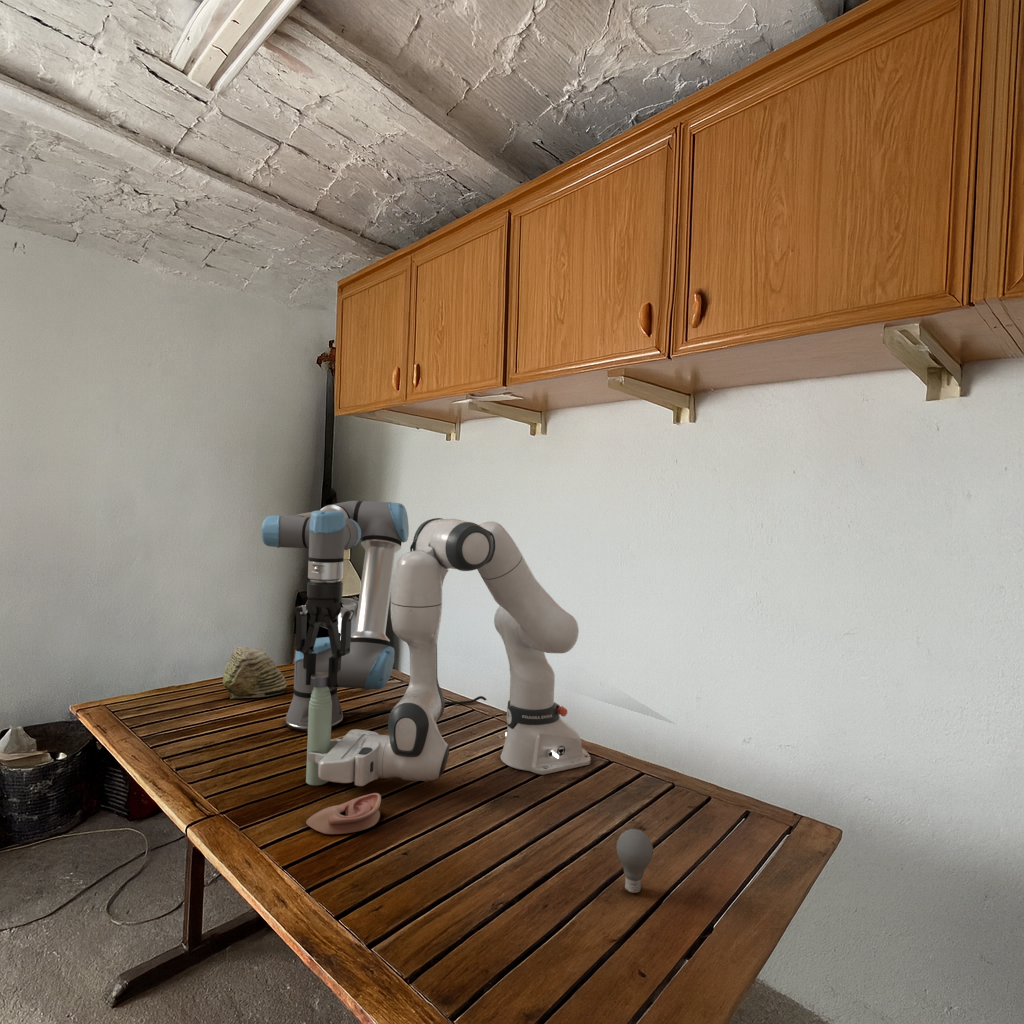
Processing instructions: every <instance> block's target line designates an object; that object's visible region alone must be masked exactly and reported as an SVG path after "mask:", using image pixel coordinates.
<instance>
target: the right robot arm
mask: <svg viewBox="0 0 1024 1024" xmlns="http://www.w3.org/2000/svg"><path fill="white" fill-rule="evenodd" d="M449 569H452V570H457V571H461V572H472V571H476V570H477V573H478V574H479V576H480V578H481V579H482V581H483V582H484V585H485V586H486V588H487V589H488V591H489V593H490V595H491V596H492V599H493V600H494V602H496V604H498V605H499V606H498V607H497V609H496V610H495V614H494V618H493V624H494V629H495V630H496V632H497V633H498V635H499V636H500V638H501V640H502V642H503V645H504V648H505V652H506V657H507V660H508V665H509V700H508V701H507V709H506V724H507V728H506V731H505V735H504V736H505V739H504V744H503V747H502V751H501V753H500V761H501V762H502V763H503V764H505V765H507V766H508V767H511V768H514V769H517V770H521V771H527V772H531V773H534V774H536V775H542V776H543V775H547V774H548V775H549V774H552V773H553V774H554V773H557V772H563V771H567V770H570V769H575V768H580V767H584V766H590V765H591V763H592V762H591V760H592V759H591V755H590V754H589V753H588V751H587V750H586V749H585V748H584V747H583V745H582V739H581V737H580V734H579V732H578V731H577V730H576V729H574V727H573V726H571V725H570V724H569V723H568V722H567V721H565V720H564V719H562V717H566V716H567V715H568V709H567V708H566V707H564V706H562V705H560V704H558V703H556V702H555V685H556V674H555V671H554V668H553V667H552V666H551V664H550V663H549V660H548V659H547V656H546V654H567V653H568V652H570V651H571V650H573V648H574V646H575V645H576V644H577V641H578V639H579V634H580V630H579V629H580V627H579V623H578V621H577V619H576V618H575V617H574V616H573V615H572V614H571V613H570V612H567V611H566V609H564V608H562V606H561V605H560V604H559V603H558V602H556V600H555V599H554V598H553V597H552V596H551V594H549V592H547V590H546V589H545V588H544V587H543V585H541V583H540V582H539V581H538V579H537V578H536V577H535V575H534V573H533V572H532V569H531V568H530V567H529V564H528V562H527V561H526V559H525V557H524V556H523V554H522V551H521V550H520V547H519V546H518V544H517V543H516V541H515V540H514V539H513V537H512V536H511V534H510V533H509V532H508V530H506V528H505V527H503V525H502V524H500V523H499V522H497V521H485V522H482V523H480V524H477V523H475V522H471V521H466V520H462V519H457V518H442V517H435V518H430V519H427V520H426V521H425V520H424V522H422V523H421V524H420V525H419V526H418V527H417V529H416V531H415V533H414V536H413V539H412V543H411V545H410V547H409V551H408V552H405V553H404V554H402V555H401V556H400V557H399V558H398V559H397V561H396V563H395V569H394V571H393V572H394V573H393V576H392V583H391V592H390V621H391V627H392V631H393V633H394V635H396V637H397V638H399V639H400V640H401V641H403V642H405V643H406V644H407V647H408V650H409V682H408V686H407V689H406V690H405V692H404V694H403V696H402V697H401V698H400V700H399V701H398V702H397V703H396V704H395V705H394V706H393V707H392V708H393V710H392V711H390V713H389V716H388V719H387V731H388V734H379V733H378V732H376V731H372V730H367V729H357V728H356V729H354V728H353V729H350V730H349V731H348V732H347V733H346V734H345V735H344V736H343V737H342V738H335V739H331V747H330V751H329V752H328V753H327V754H325V753H324V754H320V753H318V751H311V752H310V753H309V754H308V761H309V762H316V763H317V764H319V765H318V777H319V778H320V779H322V780H325V781H328V782H332V783H339V784H350V783H351V784H352V783H353V782H354V786H357V787H364V786H366V785H367V784H369V783H370V782H373V781H375V780H379V779H390V778H397V779H400V780H403V781H410V782H411V781H413V782H431V781H436V780H438V779H439V778H441V777H442V775H443V774H444V772H445V769H446V765H447V764H448V760H449V756H450V746H449V744H448V743H447V742H446V741H445V739H444V738H443V735H442V734H441V732H440V729H439V727H438V724H437V723H438V721H439V720H440V719H441V718H442V716H443V715H444V712H445V708H446V705H445V702H446V701H445V697H444V694H443V692H442V689H441V687H440V686H441V685H440V684H439V677H438V640H439V632H440V628H441V623H442V613H443V584H444V582H445V581H444V580H445V578H446V576H447V574H448V572H450V571H449ZM545 653H546V654H545ZM560 716H561V717H560Z"/></svg>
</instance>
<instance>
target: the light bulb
mask: <svg viewBox="0 0 1024 1024" xmlns="http://www.w3.org/2000/svg"><path fill="white" fill-rule="evenodd" d="M615 849H616V854H617V857H618V859H619V861H620V863H621V865H622V867H623V873H624V874H623V875H624V876H625V878H624V888H625V890H627V891H628V892H630V893H634V894H635V893H639V892H640V891H641V889H642V887H641V886H642V879H643V877H644V875H645V871H646V868H647V867H648V866H649V864H650V863H651V861H652V859H653V855H654V847H653V843H652V841H651V838H649V836H648V835H647V834H646V833H645V832H643V831H642V830H641V829H636V828H629V829H627V830H625V831H623V832H622V833H621V834H620V835H619V837H618V839H617V841H616V847H615Z"/></svg>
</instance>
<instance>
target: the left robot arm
mask: <svg viewBox="0 0 1024 1024" xmlns="http://www.w3.org/2000/svg"><path fill="white" fill-rule="evenodd" d="M409 527H410V526H409V517H408V512H407V508H406V507H405V505H404V504H402V503H400V502H391V501H371V500H370V501H369V500H348V501H342V502H337V503H333V504H327V505H325V506H323V507H322V508H320V510H313V511H309V512H304V513H298V514H297V513H296V514H292V515H280V514H278V515H267V516H266V517H265V518H264V519H263V521H262V523H261V529H260V530H261V531H260V536H261V540H262V543H263V544H264V545H265V546H267V547H272V548H277V549H279V548H288V549H290V548H292V549H307V550H308V562H307V563H308V567H307V578H308V579H309V580H308V582H307V585H306V587H307V589H306V596H307V599H306V603H305V604H303V605H298V606H295V607H294V609H293V611H294V615H295V618H296V619H295V644H294V647H295V648H294V649H295V655H294V659H293V661H294V670H293V671H294V672H293V695H292V696H293V697H292V699H291V702H290V704H289V708H288V711H287V713H286V715H285V726H286V728H287V729H289V730H291V731H294V732H295V731H296V732H301V733H308V714H309V701H310V698H311V694H312V690H313V687H312V686H311V684H310V680H311V674H313V673H317V672H328V688H329V690H330V693H331V700H332V721H331V730H332V729H335V728H337V727H339V726H340V725H342V723H343V722H344V716H371V715H378V714H384V713H389V712H391V711H392V710H393V708H394V707H391V708H386V709H381V710H374V711H351V712H343V709H342V706H341V702H340V699H339V695H338V688H344V689H363V690H367V691H368V690H381V689H383V688H384V687H385V686H386V685H387V684H388V682H389V680H390V678H391V675H392V672H393V668H394V664H395V651H396V650H395V648H394V647H393V646H390V645H391V644H390V643H391V640H390V638H388V636H387V635H386V632H387V631H386V630H387V622H388V615H389V606H390V600H391V592H392V584H393V575H394V573H393V572H394V565H395V556H396V553H397V552H399V551H400V550H402V543H406V542H408V540H409V533H410V532H409ZM360 541H361V542H360ZM359 542H360V545H361V546H362V547H363V549H364V550H365V552H364V559H363V567H362V574H361V580H360V581H361V582H360V589H359V597H358V602H357V603H358V604H357V611H356V618H355V625H354V631H353V632H352V620H353V617H354V615H355V610H354V609H348V608H346V607H344V604H343V602H342V598H343V590H344V589H343V587H344V583H343V581H342V579H344V561H345V560H344V557H345V551H348V550H350V549H352V548H354V547H356V546H357V545H358V544H359ZM307 614H309V616H310V617H309V621H308V615H307ZM339 615H340V619H341V621H340V623H341V625H340V630H339V619H338V617H339ZM307 623H308V625H309V626H307ZM322 623H323V624H325V627H326V628H327V634H328V636H325V637H318V633H319V630H320V626H321V625H322ZM307 627H308V630H307ZM478 700H483V701H487V700H488V699H487V698H486V697H485V696H483V695H480V696H476V697H475V698H473V699H471V701H470V700H460V701H458V700H457V701H445V706H446V705H447V706H448V705H465V704H472V703H475V702H476V701H478Z"/></svg>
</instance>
